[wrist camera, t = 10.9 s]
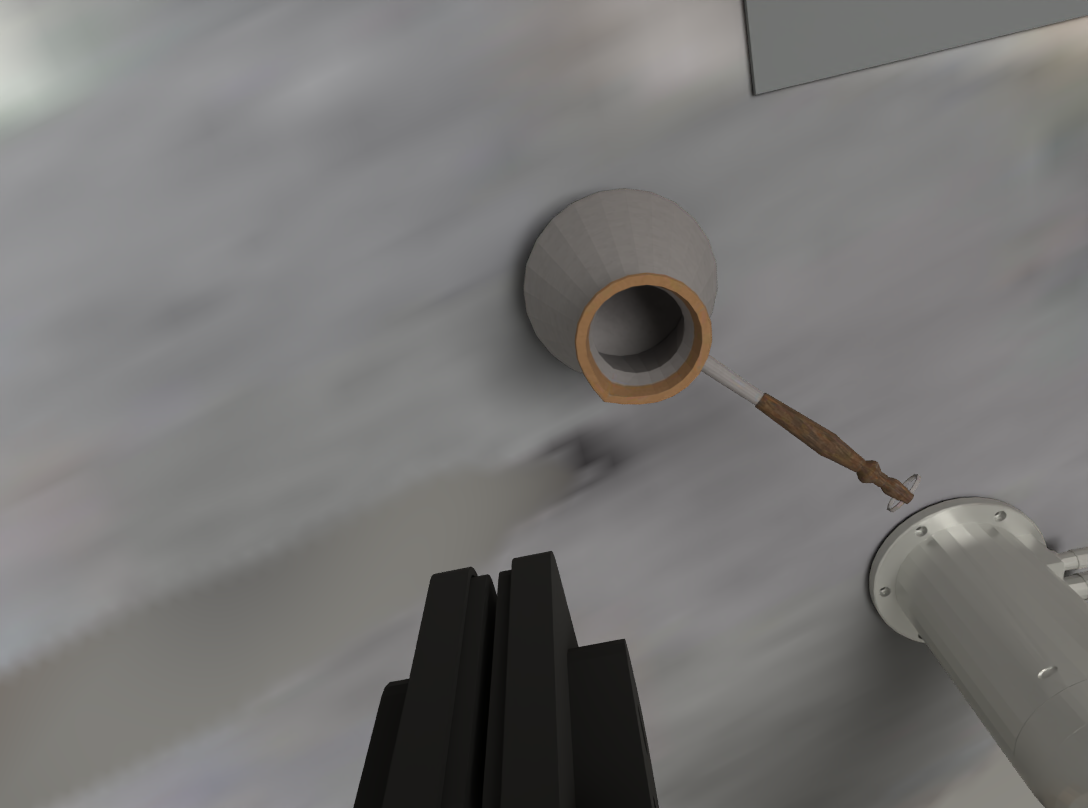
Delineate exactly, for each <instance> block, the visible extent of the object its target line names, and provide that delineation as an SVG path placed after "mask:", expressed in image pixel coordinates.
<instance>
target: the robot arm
mask: <svg viewBox="0 0 1088 808" xmlns="http://www.w3.org/2000/svg"><path fill="white" fill-rule="evenodd" d="M1082 568H1088V547H1084V548H1079V549H1073V550H1069V551H1067V552H1063V553H1057V552H1056V551H1053V550H1049V549H1048V548H1047V547H1046V543H1045V540H1044V538H1043V536H1042V533H1041V532H1040V530H1039V529H1038V528H1037V526H1036V525H1035V524H1034V522H1033V521H1031V520H1030V519H1029V518H1028V517H1027V516H1026V515H1025V514H1023V513H1022V512H1021V511H1019V510H1018V509H1016V508H1015V507H1013V506H1011V505H1010V504H1007V503H1004V502H1001V501H998V500H995V499H989V498H981V497H970V498H959V499H953V500H948V501H944V502H941V503H938V504H936V505H933V506H930V507H928V508H926V509H924V510H922V511H920V512H918V513H916V514H914V515H913V516H911V517H910V518H909V519H907V520H906V521H905V522H903V523H902V524H900V525H899V526H898V527H897V528H896V529H895V530H894V531H893V532H892V533H891V534H890V535H889V536H888V537H887V539H886V540H885V541H884V543H883V544H882V546H881V547H880V548H879V550H878V552H877V554H876V556H875V559H874V561H873V563H872V567H871V571H870V576H869V591H870V595H871V599H872V602H873V604H874V606H875V607H876V609H877V611H878V613H879V614H880V616H881V617H882V618H883V620H884V621H885V622H886V624H887V625H888V626H890V627H891V628H892V629H893V630H894V631H895V632H897V633H899V634H900V635H902V636H904V637H906V638H908V639H911V640H914V641H917V642H921V643H926V644H927V646H928V647H929V649H930V650H931V651H932V653H933V654H934V656H935V657H936V658H937V660H938V661H939V663H940V664H941V665H942V667H943V668H944V670H945V671H946V673H947V674H948V675H949V677H950V678H951V680H952V681H953V682H954V684H955V685H956V687H957V688H958V689H959V691H960V692H961V694H962V695H963V696H964V698H965V699H966V701H967V702H968V703H969V705H970V706H971V708H972V709H973V710H974V712H975V713H976V715H977V716H978V717H979V719H980V720H981V722H982V723H983V724H984V726H985V727H986V729H987V730H988V732H989V733H990V734H991V736H992V737H993V739H994V740H995V741H996V743H997V744H998V746H999V747H1000V748H1001V750H1002V751H1003V753H1004V754H1005V755H1006V757H1007V758H1008V760H1009V761H1010V762H1011V764H1012V765H1013V767H1014V768H1015V769H1016V771H1017V772H1018V773H1019V775H1020V776H1021V778H1022V779H1023V780H1024V782H1025V783H1026V784H1027V786H1028V787H1029V789H1030V790H1031V791H1032V793H1033V794H1034V796H1035V797H1036V798H1037V799H1038V800H1039V801H1040V803H1041V804H1042V805H1043V806H1044V807H1045V808H1088V603H1087V602H1086V601H1085V600H1088V571H1086V572H1081V573H1075V574H1073V575H1072V576H1066V577H1064V572H1065V571H1066V570H1071V569H1075V570H1077V569H1082ZM354 808H659V805H658V799H657V794H656V788H655V782H654V777H653V771H652V765H651V759H650V754H649V748H648V743H647V737H646V732H645V727H644V721H643V716H642V711H641V706H640V702H639V697H638V692H637V688H636V683H635V678H634V674H633V670H632V665H631V661H630V657H629V652H628V648H627V644H626V641H625V639H620V640H615V641H609V642H604V643H598V644H593V645H588V646H582V647H578V644H577V640H576V636H575V632H574V628H573V625H572V621H571V617H570V613H569V609H568V606H567V602H566V598H565V594H564V590H563V587H562V583H561V579H560V575H559V571H558V567H557V564H556V560H555V557H554V554H553V552H552V551H549V552H544V553H539V554H534V555H529V556H523V557H518V558H514V559H513V560H512V570H508V571H502V572H500V573H499V579H498V593H497V594H496V591H495V588H494V585H493V582H492V579H491V577H490V575H488V574H487V575H482V576H477V573H476V571H475V570H474V568H473V567H467V568H462V569H457V570H452V571H447V572H442V573H437V574H434V575H432V577H431V580H430V584H429V588H428V593H427V598H426V603H425V607H424V612H423V617H422V621H421V626H420V631H419V635H418V640H417V645H416V650H415V654H414V659H413V664H412V668H411V673H410V678H409V679H405V680H399V681H394V682H389V684H388V685H387V686H386V687H385V689H384V691H383V694H382V697H381V701H380V705H379V708H378V712H377V716H376V720H375V724H374V728H373V732H372V736H371V740H370V744H369V748H368V752H367V756H366V760H365V764H364V768H363V772H362V776H361V780H360V784H359V788H358V792H357V796H356V800H355V804H354Z"/></svg>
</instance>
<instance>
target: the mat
mask: <svg viewBox="0 0 1088 808" xmlns="http://www.w3.org/2000/svg"><path fill="white" fill-rule="evenodd" d="M744 7H745V16H746V26H747V36H748V46H749V55H750V65H751V75H752V85H753V94H754V95H757V94H761V93H765V92H769V91H773V90H778V89H782V88H786V87H790V86H794V85H798V84H803V83H807V82H811V81H815V80H819V79H824V78H828V77H832V76H836V75H840V74H844V73H849V72H853V71H857V70H861V69H865V68H869V67H874V66H878V65H882V64H886V63H890V62H894V61H899V60H903V59H907V58H911V57H915V56H920V55H924V54H928V53H932V52H936V51H940V50H945V49H949V48H953V47H957V46H961V45H965V44H970V43H974V42H978V41H982V40H986V39H991V38H995V37H999V36H1003V35H1007V34H1011V33H1016V32H1020V31H1024V30H1028V29H1032V28H1036V27H1041V26H1045V25H1049V24H1053V23H1057V22H1062V21H1066V20H1070V19H1074V18H1078V17H1082V16H1087V15H1088V0H744Z"/></svg>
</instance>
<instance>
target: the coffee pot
mask: <svg viewBox="0 0 1088 808" xmlns="http://www.w3.org/2000/svg"><path fill="white" fill-rule="evenodd" d="M523 290H524V297H525V304H526V311H527V315H528V317H529V320H530V322H531V324H532V326H533V329H534V331H535V333H536V335H537V337H538V338H539V339H540V340H541V342H542V343H543V344H544V345H545V347H546V348H547V349H548V350H549V352H550V353H551V354H552V355H553V356H554V357H556V358H557V359H558V360H560V361H561V362H563V363H564V364H565V365H567V366H568V367H570V368H571V369H573V370H576V371H578V372H581V373H583V374H584V376H585V377H586V379H587V380H588V382H589V383H590V385H591V387H592V388H593V389H594V391H595V392H596V393H597V394H598V395H599V397H600V398H601V399H602V400H603V401H604V402H610V403H618V404H646V403H654V402H659V401H662V400H664V399H667V398H670V397H672V396H674V395H676V394H677V393H679V392H680V391H682V390H683V389H685V388H686V387H688V386H689V385H690V383H691V382H692V381H693V380H694V379H695V378H696V377H697V376H698V375H699V373H700V372H701V371H702V372H704V373H705V374H707V375H708V376H710V377H712V378H713V379H715V380H716V381H718V382H719V383H721V384H723V385H724V386H726V387H727V388H729V389H731V390H732V391H734V392H735V393H737V394H738V395H740V396H742V397H743V398H745V399H746V400H748V401H749V402H751V403H753V404H754V405H755V407H756V408H758V409H759V410H760V411H762V412H763V413H764V414H766V415H767V416H768V417H770V418H771V419H772V420H774V421H775V422H776V423H778V424H779V425H780V426H782V427H783V428H785V429H786V430H787V431H789V432H790V433H791V434H793V435H794V436H795V437H797V438H798V439H799V440H801V441H802V442H803V443H805V444H806V445H807V446H809V447H810V448H811V449H813V450H814V451H816V452H817V453H818V454H820V455H821V456H824V457H826V458H828V459H830V460H832V461H834V462H836V463H838V464H840V465H842V466H844V467H846V468H848V469H850V470H852V471H854V472H856V473H857V476H858V479H859V480H860V481H861V482H862V483H874V484H875V485H877V486H878V487H881V489H882V491H883V492H884V493H885V494H887V495H888V496H890V497H892V498H891V500H890V502H889V504H888V507H887V510H889V511H890V512H894V511H896V510H897V509H899V508H900V507H901V506H902V505H903V504H904V503H906V504H908V503H909V502H910V501H911V500H912V499H913V497H914V495H913V492H914V491H915V489H916V488H917V486H918V484H919V483H920V478H921V476H919V475H918V474H914V475H913V476H911V477H910V478H908V479H907V480H906V481H905V482H904V483H903V484H902V483H901V482H899V481H898V480H897V479H894V478H890V477H888V476H887V475H885V474H884V473H882V472H881V469H880V466H879V464H878V462H876V461H873V460H871V461H865V460H864V459H863V458H862V457H861V456H860V455H859V454H857V453H856V452H855V451H854V450H853V449H852V448H850V447H849V446H848V445H847V444H846V443H845V442H843V441H842V440H841V439H840V438H839V437H838V436H837V435H836V434H834V433H833V432H831V431H829V430H828V429H826V428H824V427H822V426H821V425H819V424H817V423H816V422H814V421H812V420H811V419H809V418H807V417H806V416H804V415H802V414H801V413H799V412H797V411H795V410H794V409H792V408H790V407H789V406H787V405H785V404H784V403H782V402H780V401H779V400H777V399H775V398H774V397H772V396H770V395H768V394H767V393H763V392H761V391H760V390H758V389H757V388H756V387H754V386H753V385H751V384H750V383H748V382H747V381H746V380H744V379H743V378H741V377H740V376H738V375H737V374H735V373H734V372H733V371H731V370H730V369H728V368H727V367H725V366H724V365H723V364H721V363H720V362H718V361H717V360H715V359H714V358H713V357H711V356H710V355H709V351H710V347H711V343H712V328H711V321H710V317H711V315H712V311H713V307H714V303H715V298H716V294H717V266H716V261H715V258H714V255H713V252H712V249H711V246H710V242H709V239H708V238H707V237H706V235H705V234H704V232H703V231H702V229H701V228H700V226H699V225H698V223H697V222H696V220H695V219H694V218H693V217H692V216H691V215H689V214H688V213H687V212H686V211H685V210H683V209H682V208H681V207H680V206H679V205H677V204H676V203H675V202H673V201H671V200H668V199H666V198H664V197H662V196H659V195H657V194H655V193H652V192H649V191H641V190H634V189H626V188H623V189H616V190H609V191H601V192H597V193H594V194H592V195H590V196H587V197H585V198H583V199H580V200H578V201H576V202H573V203H572V204H571V205H569V206H568V207H567V208H566V209H564V210H563V211H562V212H560V213H559V214H558V215H557V216H555V217H554V218H553V219H552V220H551V221H550V222H549V224H548V225H547V226H546V228H545V229H544V230H543V232H542V233H541V234H540V236H539V237H538V238H537V240H536V242H535V244H534V247H533V249H532V252H531V254H530V257H529V259H528V262H527V264H526V272H525V280H524V288H523ZM915 478H916V481H915V483H914V484H913V486H912V488H911V489H910V490H908V488H906V486H907V485H908V484H909V483H910V482H911V481H913V480H914V479H915ZM895 500H900V502H899V503H898V504H897V505H896V506H894V507H893V508H892V505H893V503H894V501H895Z"/></svg>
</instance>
